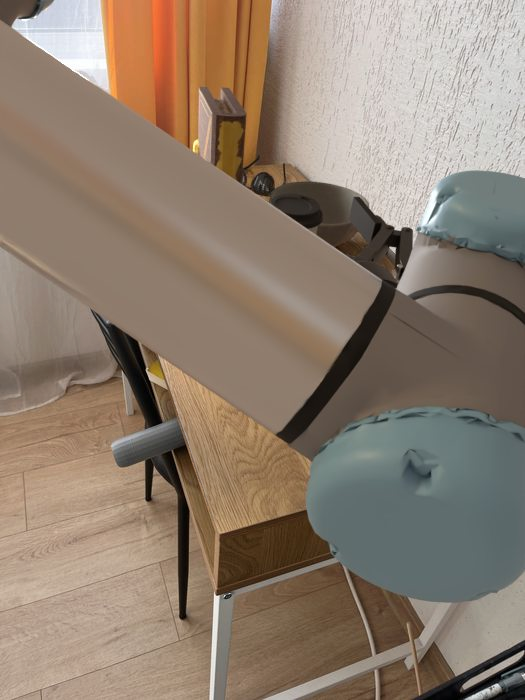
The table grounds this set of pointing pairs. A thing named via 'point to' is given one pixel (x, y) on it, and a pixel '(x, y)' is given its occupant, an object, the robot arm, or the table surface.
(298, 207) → the coffee cup
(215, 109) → the book
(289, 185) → the bowl
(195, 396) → the table surface
